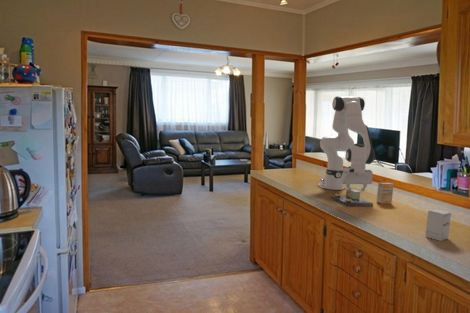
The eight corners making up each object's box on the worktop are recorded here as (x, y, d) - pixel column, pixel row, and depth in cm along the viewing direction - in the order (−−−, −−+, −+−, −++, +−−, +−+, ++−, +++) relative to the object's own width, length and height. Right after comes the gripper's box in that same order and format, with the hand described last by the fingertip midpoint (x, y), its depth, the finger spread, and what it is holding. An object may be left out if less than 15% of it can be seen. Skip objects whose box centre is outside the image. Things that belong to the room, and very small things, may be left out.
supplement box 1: (380, 204, 246) (382, 183, 245) (376, 202, 251) (378, 182, 250) (392, 203, 249) (394, 183, 247) (387, 202, 253) (389, 182, 252)
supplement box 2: (440, 241, 175) (443, 214, 174) (424, 236, 181) (427, 210, 180) (448, 239, 179) (451, 212, 178) (432, 234, 185) (435, 208, 184)
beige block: (346, 196, 256) (346, 188, 255) (351, 196, 257) (352, 188, 256) (349, 197, 252) (349, 189, 251) (354, 197, 253) (355, 189, 252)
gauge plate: (331, 198, 255) (331, 192, 254) (356, 198, 259) (356, 192, 258) (345, 206, 235) (346, 199, 235) (372, 206, 239) (373, 199, 239)
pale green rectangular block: (350, 197, 250) (351, 190, 249) (356, 197, 251) (356, 190, 250) (353, 199, 246) (354, 191, 246) (359, 199, 247) (360, 191, 246)
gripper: (369, 169, 251) (368, 190, 253) (340, 168, 247) (339, 189, 248) (375, 170, 245) (373, 192, 247) (345, 169, 241) (344, 191, 242)
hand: (356, 191), depth 247 cm, fingers open, 8 cm apart
